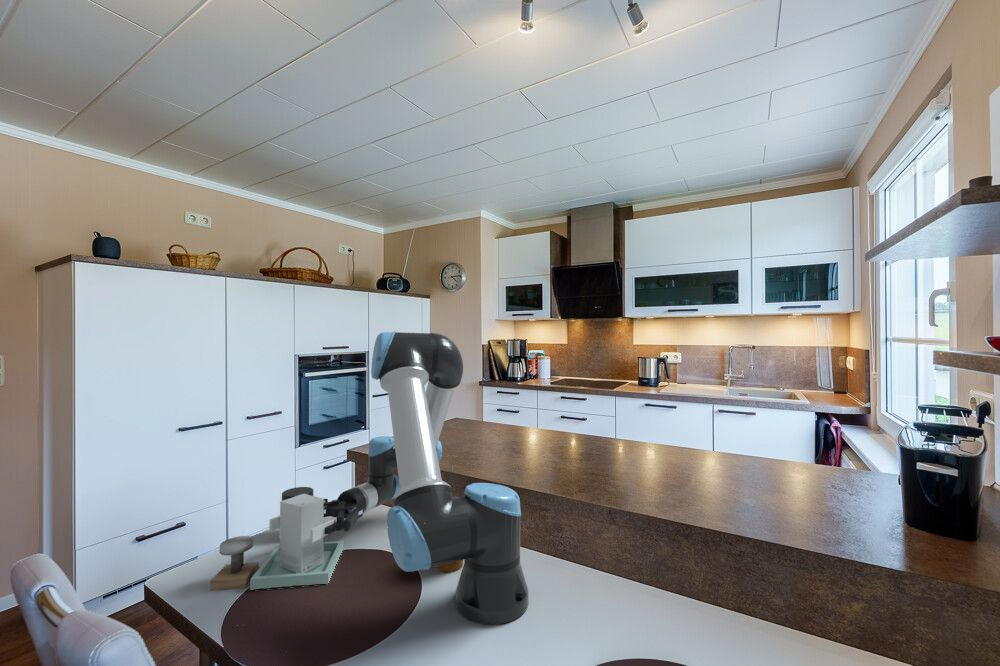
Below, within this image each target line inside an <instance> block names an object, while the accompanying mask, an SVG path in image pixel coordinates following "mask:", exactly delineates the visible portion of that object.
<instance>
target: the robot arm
mask: <svg viewBox="0 0 1000 666" xmlns="http://www.w3.org/2000/svg"><path fill="white" fill-rule="evenodd" d="M371 360H372V361H371V372H370V373H371V378H372V379H373V380H376V381H378V380H379V383H380V387H381V389H382V390H383V391H384V392H387V395H388V403H389V404H388V405H389V410H390V420H391V426H392V435H393V437H392V436H387V435H386V436H385V435H382V436H375V437H372V438H371V439H370V440H369V442H368V443H369V444H368V453H367V456H368V465H367V468H368V473H367V481H366V482H364V483H362V484H358V485H356V486H354V487H352V488H349V489H347V490H344V491H342V492H341V493H340V494H339V496H338V497H337V499H333V500H331V501H328V500H329V499H328V498H323V511H324V512H325V513H324V516H323V517H324V518H327V517H332V519H331V520H328V521H326V522H324V524H322V525H320V526H317V527H315V528H313V529H311V530H310V542H312V543H313V542H315V541H317V540H319V539H321V538H323V537H324V538H326V537H327V536H328V535H330V534H332V533H334V532H340V531H342V530H343V531H344V532H349V531H350V530H351V528H352V527H353V526H354V525H355V523H357V521H358V520H359V519H361V518H362V517H363V514H366V513H367V512H369V511H371V510H373V509H375V508H376V507H379V506H381V505H383V504H385V503H389V502H390V501H392V500H393V504H394V505H393V506H392V507H390V508H389V509H388V511H387V514H386V524H387V528H386V529H387V537H388V542H389V545H390V550H391V552H392V556H393V558H394V560H395V563H396V564H397V566H398V567H399V568H400V570H403V572H410V573H411V572H415V571H416V572H417V571H422V570H424V571H428V570H429V569H430V568H435V567H437V566H439V565H443V564H447V563H452V562H456V561H460V560H463V566H462V570H461V573H460V576H459V579H458V581H457V585H456V588H455V607H456V610H457V612H458V613H459V614H460V615H462V617H464V618H466V619H467V620H469V621H471V622H474V623H477V624H481V625H500V624H507V623H508V622H512V621H514V620H516V619H518V618H520V617H521V616H522V615H524V613H525V612H526V611H527V609H528V607H529V588H528V584H527V582H526V577H525V575H524V571H523V568H522V564H521V516H522V511H521V501H520V497H519V494H518V493H517V491H516V490H514V489H512V488H510V487H508V486H505V485H501V484H497V483H496V484H495V483H489V482H473V483H470V484H468V485H466V487H465V489H464V491H463V493H464V495H459V496H453V493H452V492H453V491H452V487H451V485H450V484H449V483H448V482H446V481H444V480H442V473H441V469H440V463H439V462H440V461H441V460H442V456H443V447H442V446H443V445H442V443H441V440H439V439H440V436H441V433H442V431H443V430H442V429H443V426H444V424H445V420H446V417H447V414H448V411H449V408H450V404H451V402H452V397H453V395H454V391H455V389H456V388H458V387H459V386H460V384H461V381H462V378H463V375H464V361H463V356H462V354H461V351H460V350H459V348H458V346H457V345H456V344H455V342H454V341H453V340H452V339H450V338H449V337H448V336H446V335H444V334H441V333H437V332H436V333H435V332H429V333H428V332H398V331H390V332H389V331H386V332H380V333H379V334H378V335H377V336H376V339H375V342H374V347H373V353H372V358H371ZM426 384H427V386H426ZM425 386H426V389H425ZM395 469H397V475H398V476H397V475H396V474H395ZM333 518H336V519H333ZM268 525H269V529H268V531H269V532H274V531H277V530H278V529H280V514H279V515H277V516H274V517H271V518H270V519H269V524H268Z"/></svg>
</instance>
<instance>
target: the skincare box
mask: <svg viewBox="0 0 1000 666" xmlns="http://www.w3.org/2000/svg"><path fill="white" fill-rule="evenodd" d="M323 499H324V498H322V497H319V496H315V495H313V496H311V495H307V494H301V495H298V496H295V497H292V498H290V499H287V500H284V501H282V500H281V501H279V508H280V509H279V515H280V528H279V531H280V539H279V542H280V544H279V545H280V567H282V568H285V569H287V570H290V571H292V572H294V573H306V572H308V571H310V570H312V569H314V568H316V567H318V566H320V565H322V564H323V563H324V542H325V541H324V538H325V537H323V538H321V539H319V540H317V541H315V542H313V543H312V542H310V530H311V529H313V528H315V527H317V526H320V525H322V524H324V523H325V522H324V518H325V517H323V516H324V514H325V513H324V512H325V510H324V511H323Z"/></svg>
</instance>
